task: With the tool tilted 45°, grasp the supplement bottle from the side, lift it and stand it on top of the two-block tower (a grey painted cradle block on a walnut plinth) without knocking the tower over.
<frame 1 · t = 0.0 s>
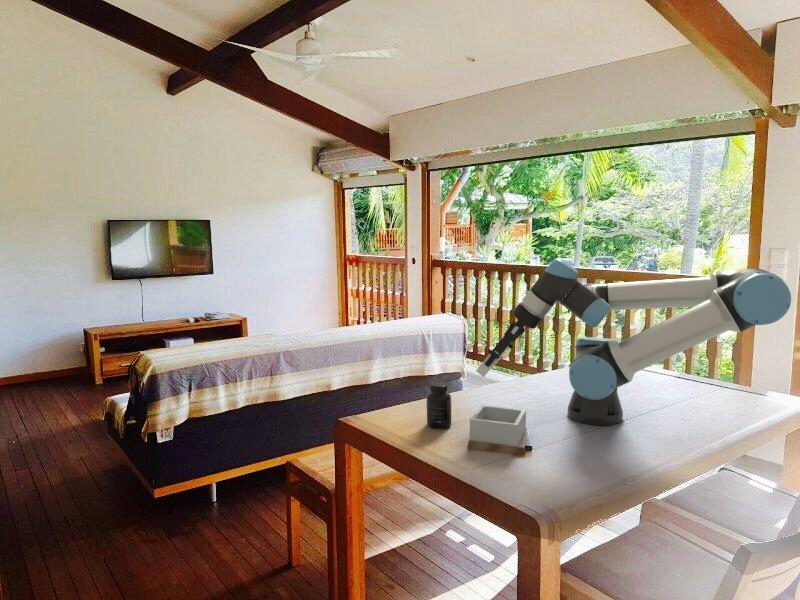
hand: (485, 367, 168), 15 cm above the table, tool tilted 35°, fingers open, 13 cm apart
walnut plinth: (498, 444, 154), on the table, touching grey painted block
supplement bottle: (438, 426, 166), on the table
grey painted block: (498, 435, 154), point 2 cm above the table, touching walnut plinth
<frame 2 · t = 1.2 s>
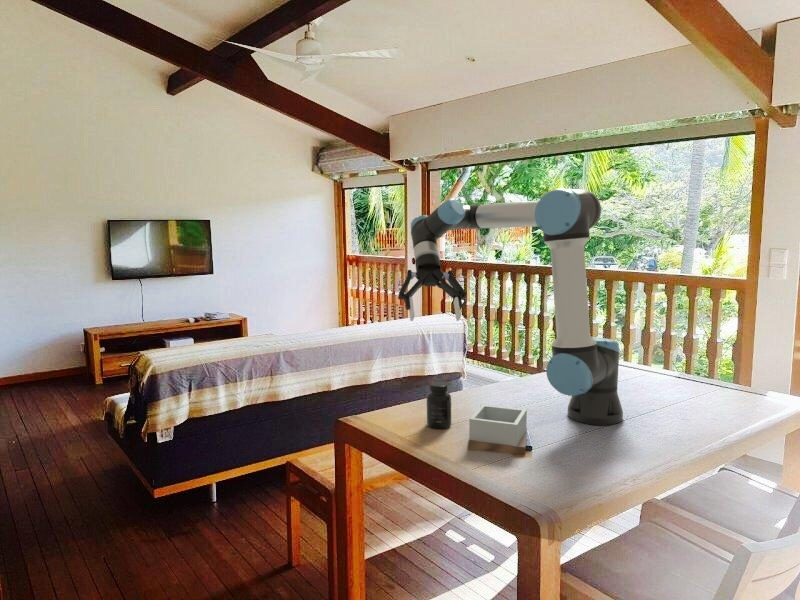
hand: (435, 318, 171), 29 cm above the table, tool tilted 40°, fingers open, 13 cm apart
nothing on the table moved.
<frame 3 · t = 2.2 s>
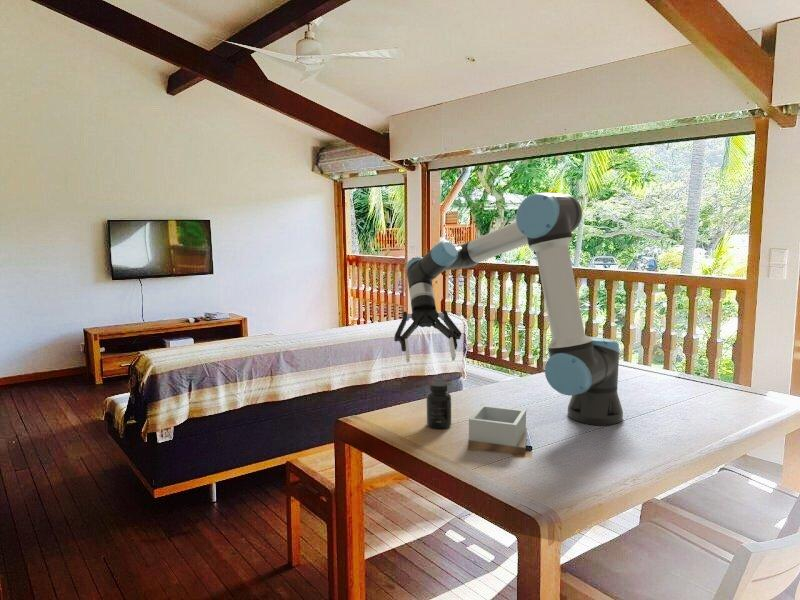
hand: (431, 359, 174), 16 cm above the table, tool tilted 45°, fingers open, 13 cm apart
nothing on the table moved.
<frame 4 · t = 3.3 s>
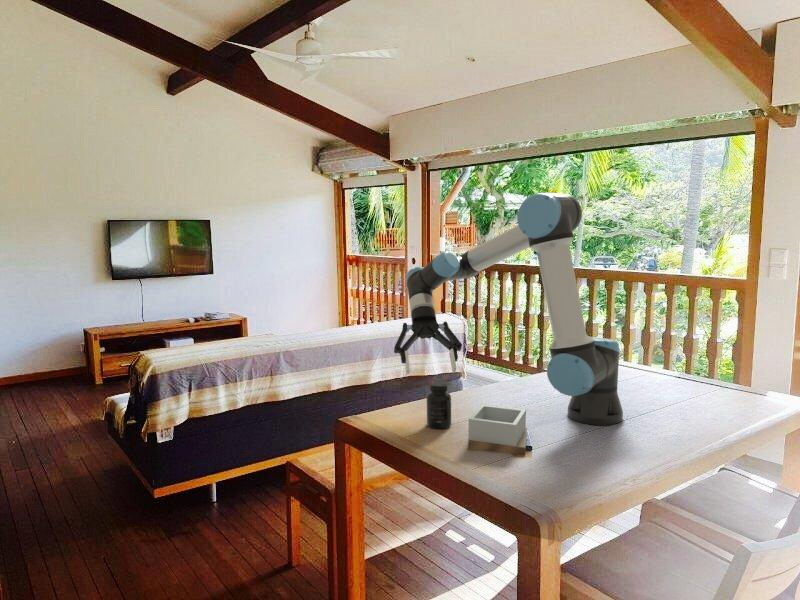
hand: (431, 371, 172), 13 cm above the table, tool tilted 45°, fingers open, 13 cm apart
nothing on the table moved.
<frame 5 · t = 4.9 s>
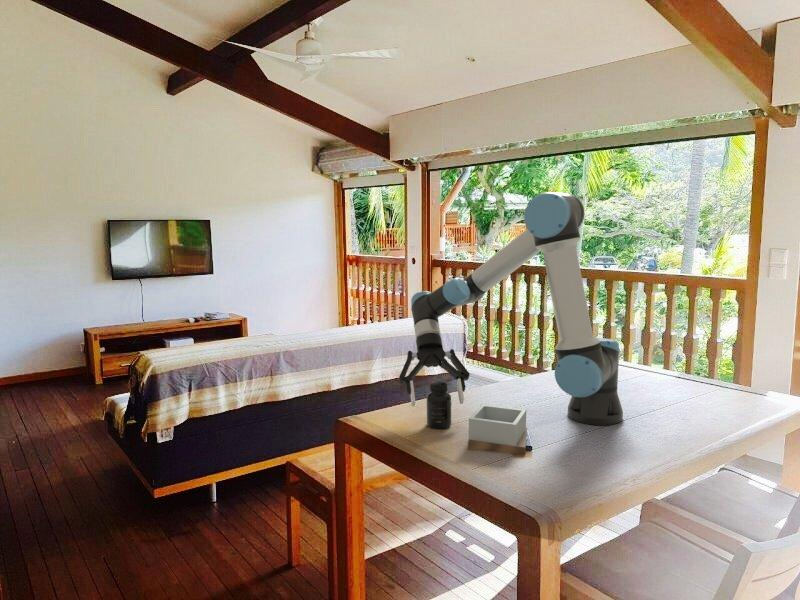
hand: (437, 402, 164), 7 cm above the table, tool tilted 45°, fingers open, 13 cm apart
nothing on the table moved.
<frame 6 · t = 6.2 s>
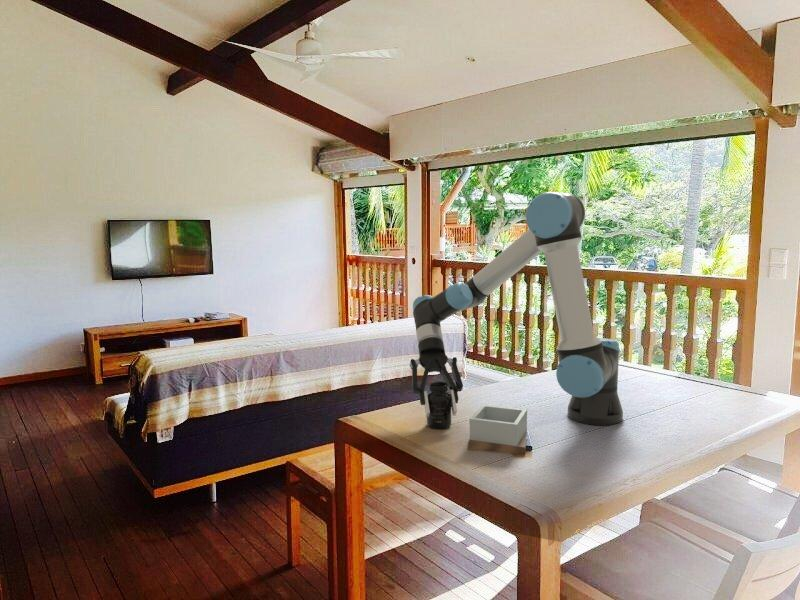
hand: (441, 414, 162), 5 cm above the table, tool tilted 45°, fingers closed on supplement bottle, 7 cm apart
supplement bottle: (438, 426, 166), on the table, touching gripper
everything else where it was.
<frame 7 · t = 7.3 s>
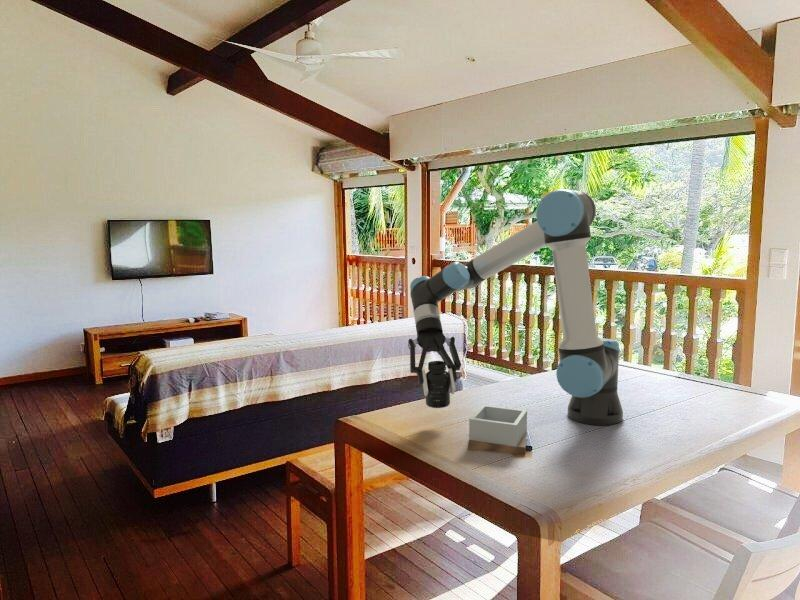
hand: (439, 392, 161), 10 cm above the table, tool tilted 45°, fingers closed on supplement bottle, 7 cm apart
walnut plinth: (498, 444, 154), on the table
supplement bottle: (437, 405, 165), point 6 cm above the table, touching gripper
grey painted block: (498, 435, 154), point 2 cm above the table
when the fingers open (9 cm above the table, at t = 12.8 s): supplement bottle drops 1 cm, resting on grey painted block.
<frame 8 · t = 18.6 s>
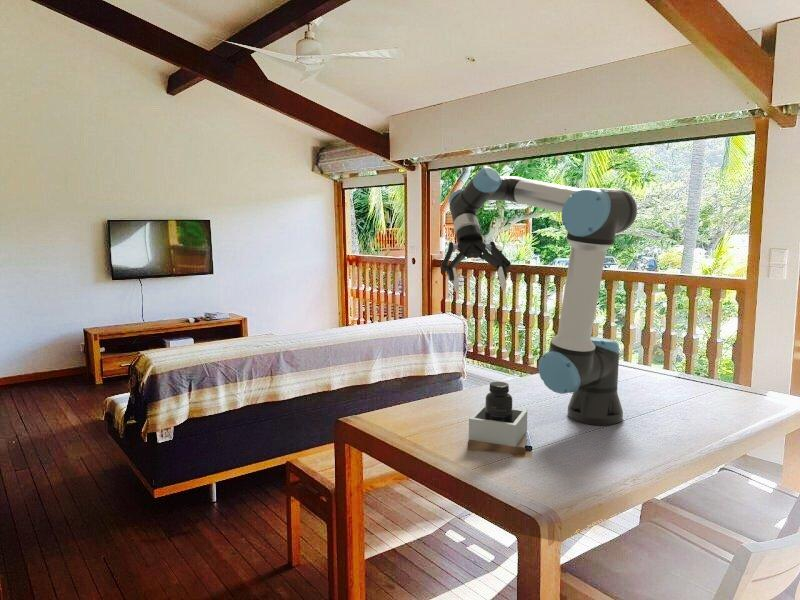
hand: (480, 288, 166), 38 cm above the table, tool tilted 45°, fingers open, 13 cm apart
walnut plinth: (498, 444, 154), on the table, touching grey painted block
supplement bottle: (498, 429, 153), point 3 cm above the table, touching grey painted block
grey painted block: (498, 434, 154), point 2 cm above the table, touching supplement bottle, walnut plinth
at the end: supplement bottle 0.1 cm from the grey painted block (horizontally); supplement bottle tilted 1°; grey painted block moved 0.7 cm from its start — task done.
